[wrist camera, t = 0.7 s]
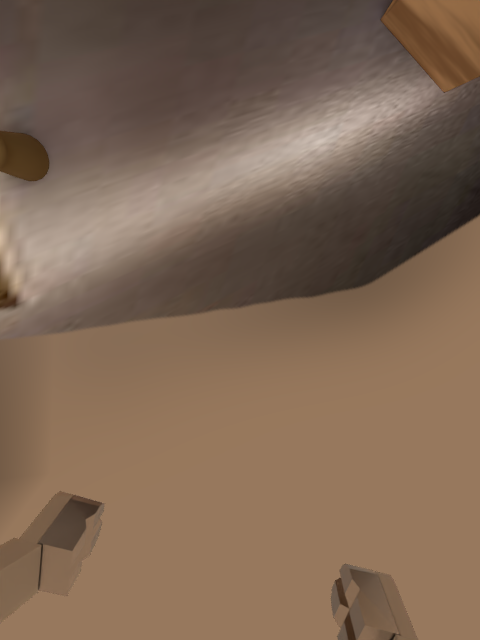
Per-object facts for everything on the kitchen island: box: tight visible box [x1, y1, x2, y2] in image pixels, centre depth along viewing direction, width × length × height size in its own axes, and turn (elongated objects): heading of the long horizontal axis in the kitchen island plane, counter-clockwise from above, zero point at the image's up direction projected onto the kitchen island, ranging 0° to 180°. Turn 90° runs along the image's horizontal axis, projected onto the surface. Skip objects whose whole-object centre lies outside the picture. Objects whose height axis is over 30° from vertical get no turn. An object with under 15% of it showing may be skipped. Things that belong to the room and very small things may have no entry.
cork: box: [0, 131, 49, 181], centre depth 37 cm, size 6×6×11 cm
